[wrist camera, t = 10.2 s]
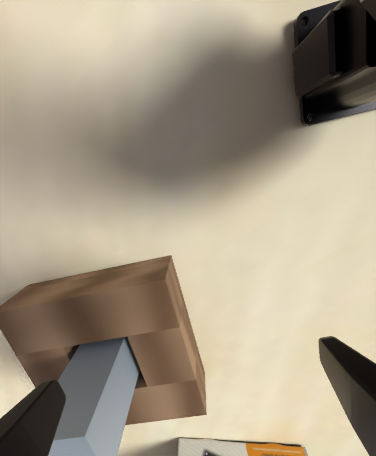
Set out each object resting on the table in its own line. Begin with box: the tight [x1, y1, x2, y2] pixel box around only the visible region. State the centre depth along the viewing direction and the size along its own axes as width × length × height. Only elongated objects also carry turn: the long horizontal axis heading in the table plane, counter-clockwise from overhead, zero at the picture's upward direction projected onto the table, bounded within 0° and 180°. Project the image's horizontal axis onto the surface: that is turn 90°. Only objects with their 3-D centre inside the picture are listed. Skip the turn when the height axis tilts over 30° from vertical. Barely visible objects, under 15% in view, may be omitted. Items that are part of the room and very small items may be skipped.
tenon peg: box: [48, 336, 140, 456], centre depth 17 cm, size 4×4×9 cm
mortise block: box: [0, 256, 206, 425], centre depth 20 cm, size 14×14×4 cm
